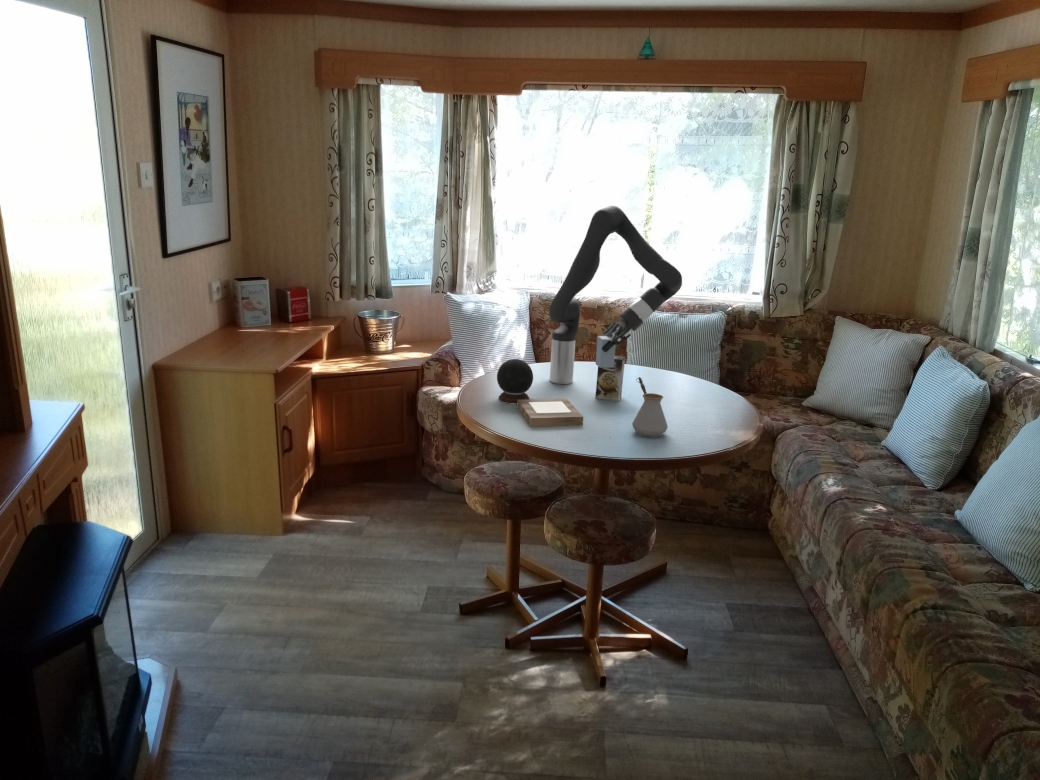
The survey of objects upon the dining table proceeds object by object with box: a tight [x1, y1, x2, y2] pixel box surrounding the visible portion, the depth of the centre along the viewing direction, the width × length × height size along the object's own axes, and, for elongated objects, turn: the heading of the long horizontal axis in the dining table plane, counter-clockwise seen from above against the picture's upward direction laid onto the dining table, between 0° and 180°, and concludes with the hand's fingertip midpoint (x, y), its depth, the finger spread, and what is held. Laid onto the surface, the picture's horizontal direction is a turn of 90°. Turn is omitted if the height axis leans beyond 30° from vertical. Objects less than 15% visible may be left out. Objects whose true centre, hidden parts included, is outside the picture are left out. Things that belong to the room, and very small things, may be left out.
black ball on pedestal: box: [496, 358, 534, 404], centre depth 281 cm, size 13×13×15 cm
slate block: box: [595, 335, 617, 368], centre depth 268 cm, size 5×5×10 cm
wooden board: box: [516, 398, 584, 427], centre depth 266 cm, size 20×18×3 cm
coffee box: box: [594, 354, 626, 402], centre depth 288 cm, size 9×6×16 cm
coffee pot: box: [631, 376, 668, 438], centre depth 257 cm, size 21×12×15 cm, turn 9°
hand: (600, 348), depth 268 cm, fingers closed on slate block, 5 cm apart
